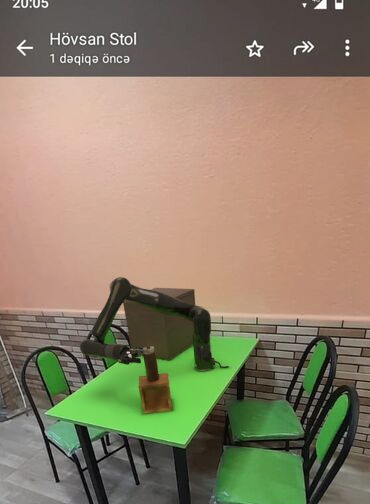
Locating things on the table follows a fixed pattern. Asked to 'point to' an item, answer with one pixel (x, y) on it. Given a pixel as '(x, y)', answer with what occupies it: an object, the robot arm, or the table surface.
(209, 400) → the table surface
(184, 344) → the storage cube
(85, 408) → the table surface
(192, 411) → the table surface
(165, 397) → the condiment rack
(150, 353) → the pepper mill
